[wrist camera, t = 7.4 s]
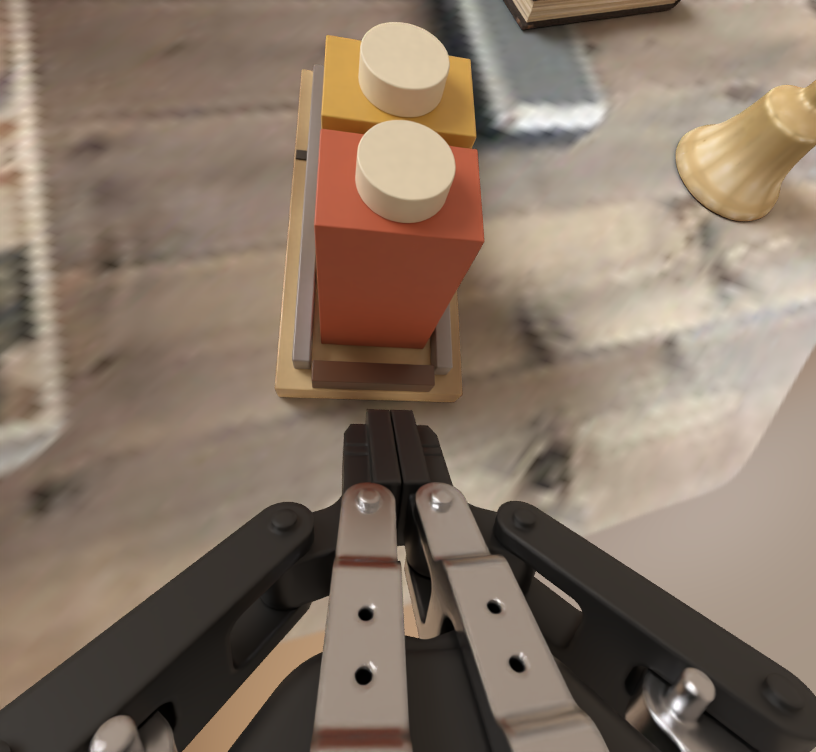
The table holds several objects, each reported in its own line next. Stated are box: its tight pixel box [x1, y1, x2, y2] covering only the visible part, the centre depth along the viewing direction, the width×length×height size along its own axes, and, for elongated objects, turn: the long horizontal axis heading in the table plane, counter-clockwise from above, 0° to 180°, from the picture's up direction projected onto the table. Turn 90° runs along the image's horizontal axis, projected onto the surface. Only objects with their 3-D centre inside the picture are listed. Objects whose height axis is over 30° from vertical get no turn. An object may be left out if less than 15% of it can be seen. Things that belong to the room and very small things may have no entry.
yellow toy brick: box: [321, 22, 476, 149], centre depth 18 cm, size 5×4×10 cm
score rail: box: [275, 64, 463, 402], centre depth 23 cm, size 9×20×3 cm, turn 1°
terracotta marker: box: [314, 120, 484, 349], centre depth 17 cm, size 5×4×10 cm
